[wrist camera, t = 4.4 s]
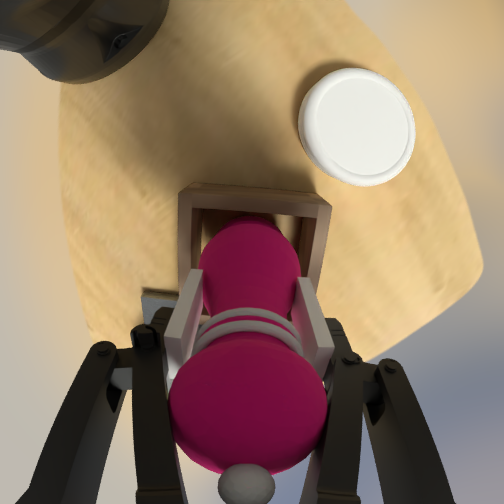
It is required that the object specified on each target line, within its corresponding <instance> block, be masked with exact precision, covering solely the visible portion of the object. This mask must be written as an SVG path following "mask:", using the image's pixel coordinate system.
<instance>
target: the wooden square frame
mask: <svg viewBox="0 0 504 504" xmlns="http://www.w3.org/2000/svg"><path fill="white" fill-rule="evenodd" d="M202 208H207V209H222V210H235V211H247V212H259V213H271V214H281V215H292V216H302V217H303V221H302V228H301V235H300V242H299V248H298V255H297V256H298V260H299V264H300V271H301V277H306V278H310V281H311V283H312V286H313V289H314V291H315V294H316V292H317V287H318V283H319V278H320V273H321V268H322V263H323V257H324V252H325V247H326V241H327V236H328V230H329V224H330V218H331V212H332V206H331V205H330V204H329V203H328V202H327V201H325V200H324V199H323V198H322V197H321V196H319V195H318V194H315V193H306V192H297V191H288V190H279V189H268V188H257V187H246V186H233V185H218V184H201V183H192V184H190V185H189V186H187V187H186V188H185V189H183V190H182V191H181V192H179V193H178V281H179V296H180V294H181V291H182V289H183V287H184V284H185V282H186V279H187V277H188V275H189V272H190V270H191V269H198V265H199V261H200V257H201V232H202ZM291 310H292V307H291V309H290V310H289V312H288V313H287V320H288V321H289V322H290V323H291V324H292V325H293V321H292V316H291ZM209 319H211V318H210V314H209V313H208V311H207V309H206V307H205V305H204V303H203V308H202V312H201V316H200V320H199V324H201V325H203V324H205V323H206V322H207V321H208V320H209Z"/></svg>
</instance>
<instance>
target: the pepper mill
mask: <svg viewBox="0 0 504 504" xmlns="http://www.w3.org/2000/svg"><path fill="white" fill-rule="evenodd" d="M198 269H201V270H203V303H204V305H205V307H206V309H207V311H208V313H209V314H210V318H211V319H209V320H208V321H207V322H206V323H205V324H203V326H202V327H201V328H200V330H199V331H198V333H197V335H196V338H195V342H194V348H193V351H192V355H191V358H189V359H188V360H187V361H186V362H185V363H184V365H183V366H182V367H181V368H180V369H179V370H178V372H177V374H176V376H175V378H174V380H173V382H172V385H171V388H170V390H169V393H168V410H169V417H170V423H171V428H172V433H173V437H174V440H175V442H176V443H177V444H178V446H179V447H180V448H181V449H182V450H183V452H184V453H185V454H186V455H187V456H188V457H189V458H190V459H191V460H192V461H194V462H196V463H198V464H199V465H201V466H203V467H204V468H206V469H208V470H210V471H213V472H216V473H219V474H222V475H221V477H220V478H219V481H218V492H219V495H220V497H221V498H222V500H223V501H224V502H225V503H226V504H267V503H268V502H269V501H270V500H271V498H272V497H273V495H274V492H275V482H274V479H273V477H272V476H271V475H274V474H277V473H280V472H282V471H285V470H287V469H290V468H291V467H293V466H295V465H296V464H298V463H299V462H301V461H302V460H304V459H305V458H306V457H307V456H308V455H309V454H310V453H311V452H312V451H313V450H314V449H315V447H316V446H317V444H318V443H319V441H320V439H321V437H322V434H323V431H324V428H325V424H326V420H327V413H328V404H327V396H326V392H325V389H324V386H323V383H322V380H321V378H320V377H319V375H318V374H317V372H316V371H315V369H314V368H313V366H312V365H311V364H310V363H309V362H308V361H307V360H305V356H304V352H303V349H302V344H301V339H300V336H299V334H298V332H297V330H296V329H295V327H294V326H293V325H292V324H291V323H290V322H289V321H288V320H287V313H288V312H289V310H290V309H291V307H292V305H293V301H294V298H295V292H296V283H297V277H301V271H300V264H299V260H298V256H297V254H296V252H295V250H294V248H293V246H292V245H291V244H290V242H289V241H288V240H287V239H286V238H285V237H284V236H283V234H282V233H281V231H280V230H279V229H278V227H276V226H275V225H274V224H273V223H271V222H270V221H268V220H266V219H264V218H261V217H257V216H242V217H238V218H235V219H232V220H230V221H229V222H227V223H226V224H225V225H223V226H222V227H221V228H220V230H219V231H218V232H217V234H216V235H215V236H214V237H213V238H212V239H211V240H210V241H209V242H208V244H207V245H206V247H205V248H204V250H203V252H202V254H201V257H200V261H199V265H198Z"/></svg>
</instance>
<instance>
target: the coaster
mask: <svg viewBox="0 0 504 504" xmlns="http://www.w3.org/2000/svg"><path fill="white" fill-rule="evenodd" d="M298 129H299V135H300V139H301V142H302V145H303V148H304V150H305V151H306V153H307V155H308V156H309V158H310V159H311V161H312V162H313V163H314V164H315V165H316V166H317V167H318V168H319V169H320V170H322V171H323V172H324V173H326V174H327V175H329V176H331V177H333V178H336V179H338V180H340V181H342V182H345V183H347V184H351V185H355V186H374V185H378V184H381V183H384V182H386V181H388V180H390V179H392V178H393V177H395V176H396V175H397V174H398V173H399V172H400V171H401V170H402V169H403V168H404V167H405V165H406V164H407V162H408V161H409V159H410V156H411V154H412V151H413V148H414V143H415V132H416V131H415V122H414V117H413V113H412V110H411V108H410V106H409V103H408V101H407V100H406V98H405V97H404V95H403V94H402V92H401V91H400V90H399V89H398V88H397V87H396V86H395V85H394V84H393V83H392V82H391V81H389V80H388V79H387V78H385V77H384V76H382V75H380V74H378V73H376V72H373V71H370V70H366V69H362V68H344V69H339V70H336V71H333V72H331V73H329V74H327V75H326V76H324V77H323V78H322V79H320V80H319V81H318V82H317V83H316V84H315V85H314V86H313V87H312V88H311V89H310V90H309V91H308V92H307V94H306V95H305V97H304V99H303V101H302V104H301V107H300V110H299V116H298Z"/></svg>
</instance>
